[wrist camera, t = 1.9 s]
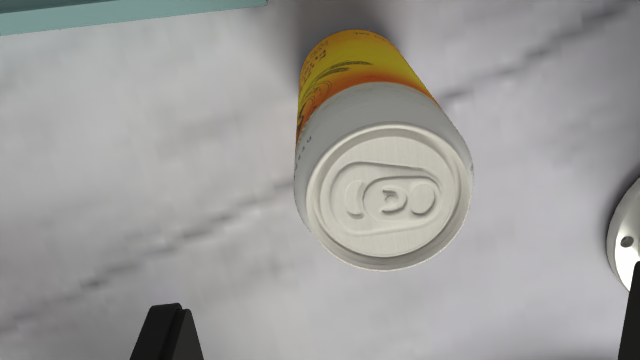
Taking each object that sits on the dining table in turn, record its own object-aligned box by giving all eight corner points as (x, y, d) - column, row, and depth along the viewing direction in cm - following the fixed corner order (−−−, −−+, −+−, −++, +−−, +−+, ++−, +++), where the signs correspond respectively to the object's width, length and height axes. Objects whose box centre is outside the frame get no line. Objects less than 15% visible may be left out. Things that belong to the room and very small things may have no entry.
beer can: (298, 27, 29) (289, 112, 16) (408, 26, 29) (496, 109, 16) (300, 132, 32) (295, 282, 18) (402, 130, 32) (472, 279, 18)
